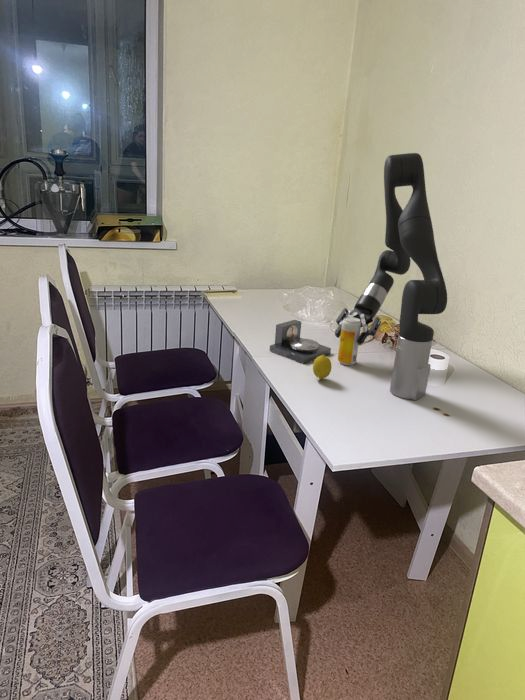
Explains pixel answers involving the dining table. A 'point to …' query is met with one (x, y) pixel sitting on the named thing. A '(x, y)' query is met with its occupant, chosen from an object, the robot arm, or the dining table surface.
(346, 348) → the beer can
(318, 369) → the lemon
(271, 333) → the dining table surface
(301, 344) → the pan
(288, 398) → the dining table surface
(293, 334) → the scale
